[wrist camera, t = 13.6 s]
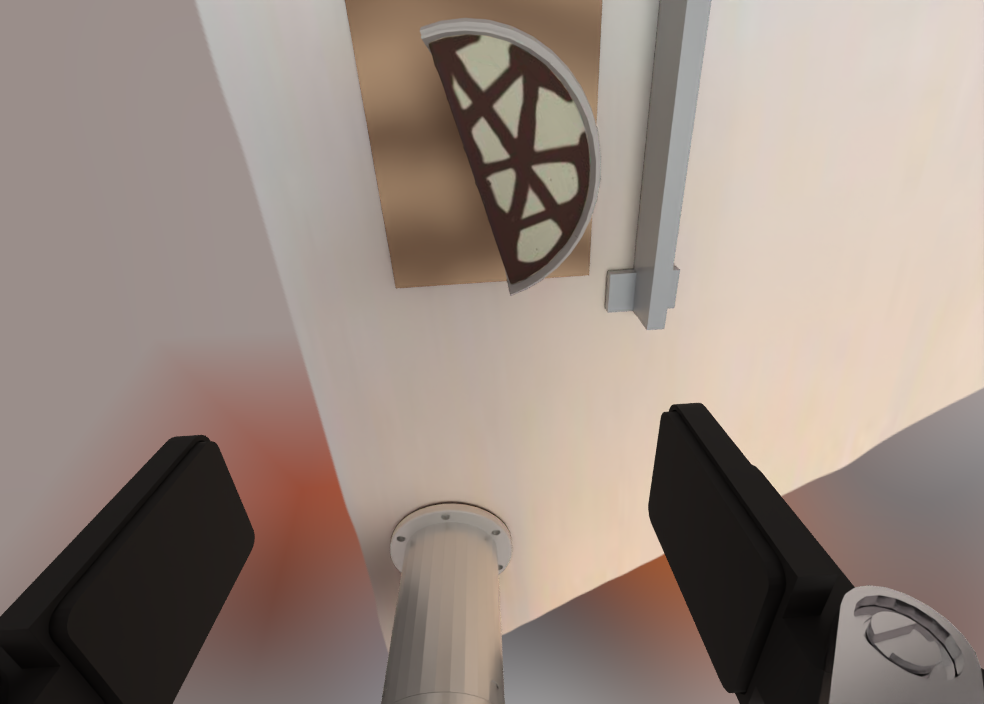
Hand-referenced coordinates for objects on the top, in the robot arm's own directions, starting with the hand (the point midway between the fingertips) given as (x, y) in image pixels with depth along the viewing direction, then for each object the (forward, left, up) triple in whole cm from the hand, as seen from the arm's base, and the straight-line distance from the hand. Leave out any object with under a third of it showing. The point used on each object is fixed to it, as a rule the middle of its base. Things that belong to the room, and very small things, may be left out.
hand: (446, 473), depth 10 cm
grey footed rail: (+4, -13, -24) cm, 28 cm away
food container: (+4, -4, -24) cm, 25 cm away
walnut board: (+4, -2, -24) cm, 25 cm away
